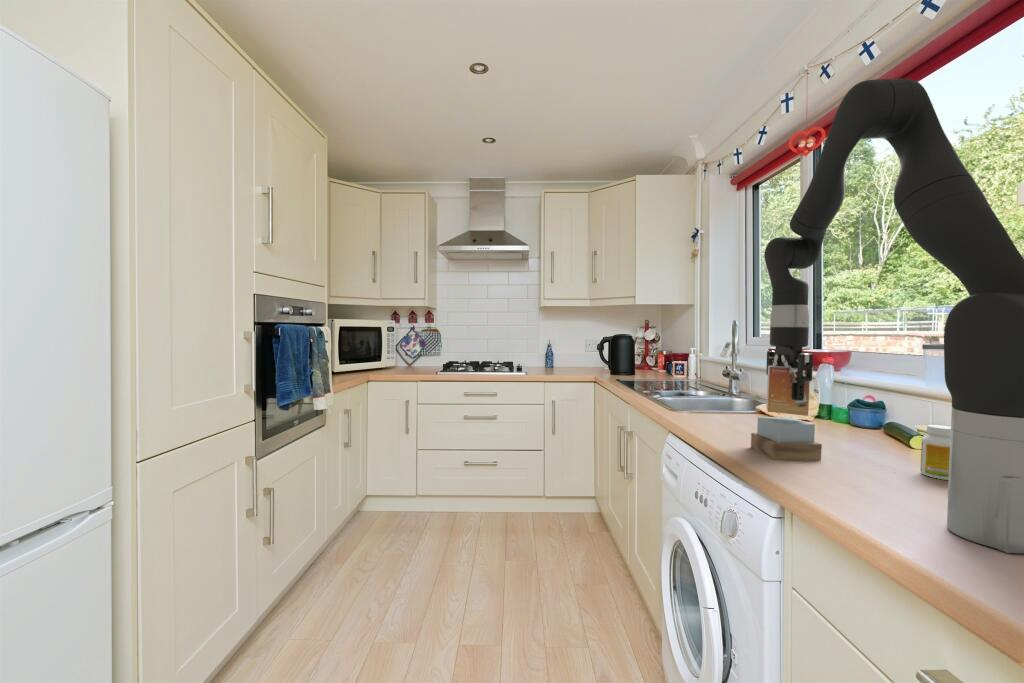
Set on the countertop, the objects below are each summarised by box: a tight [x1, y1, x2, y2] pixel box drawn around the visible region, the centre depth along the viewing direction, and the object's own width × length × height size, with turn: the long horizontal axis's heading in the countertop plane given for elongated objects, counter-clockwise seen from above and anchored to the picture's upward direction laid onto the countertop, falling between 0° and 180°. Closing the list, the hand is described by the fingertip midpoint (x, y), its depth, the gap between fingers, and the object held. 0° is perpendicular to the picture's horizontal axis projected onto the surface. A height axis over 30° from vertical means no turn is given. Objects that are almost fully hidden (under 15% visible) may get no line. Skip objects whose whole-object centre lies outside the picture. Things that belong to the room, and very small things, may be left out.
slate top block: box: [756, 416, 816, 442], centre depth 103 cm, size 8×8×4 cm
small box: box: [766, 366, 811, 417], centre depth 103 cm, size 8×6×10 cm
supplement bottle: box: [920, 424, 951, 481], centre depth 88 cm, size 5×5×10 cm
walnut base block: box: [750, 432, 823, 461], centre depth 103 cm, size 10×10×4 cm
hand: (787, 397), depth 103 cm, fingers closed on small box, 7 cm apart
